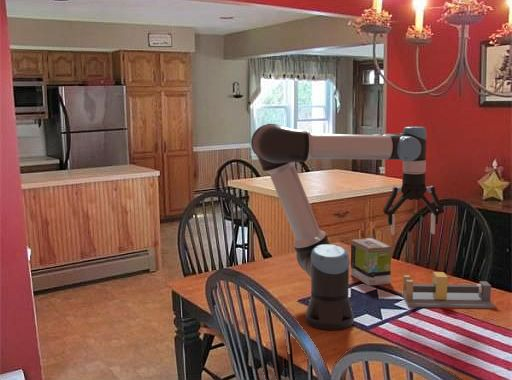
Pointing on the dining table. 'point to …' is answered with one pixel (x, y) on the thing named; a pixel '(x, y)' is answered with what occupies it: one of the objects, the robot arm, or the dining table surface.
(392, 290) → the dining table surface
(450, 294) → the grey slider rail
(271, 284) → the dining table surface
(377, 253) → the tea box
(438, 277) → the sleeve
